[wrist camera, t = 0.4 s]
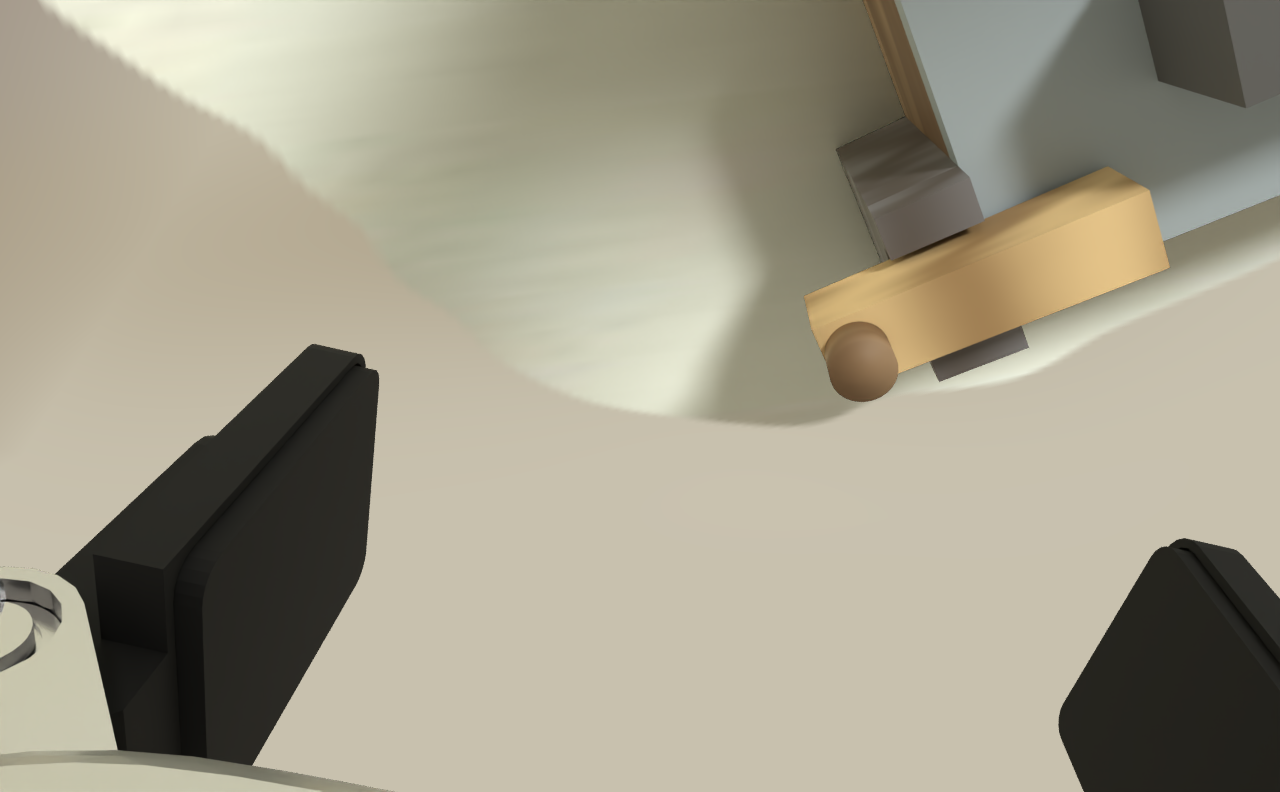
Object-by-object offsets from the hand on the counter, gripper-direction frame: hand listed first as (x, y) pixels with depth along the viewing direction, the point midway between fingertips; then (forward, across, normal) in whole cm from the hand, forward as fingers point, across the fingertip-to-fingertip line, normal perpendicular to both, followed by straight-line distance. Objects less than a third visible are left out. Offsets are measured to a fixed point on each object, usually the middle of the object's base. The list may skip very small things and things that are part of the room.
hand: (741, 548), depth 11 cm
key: (+20, -8, +1) cm, 22 cm away
